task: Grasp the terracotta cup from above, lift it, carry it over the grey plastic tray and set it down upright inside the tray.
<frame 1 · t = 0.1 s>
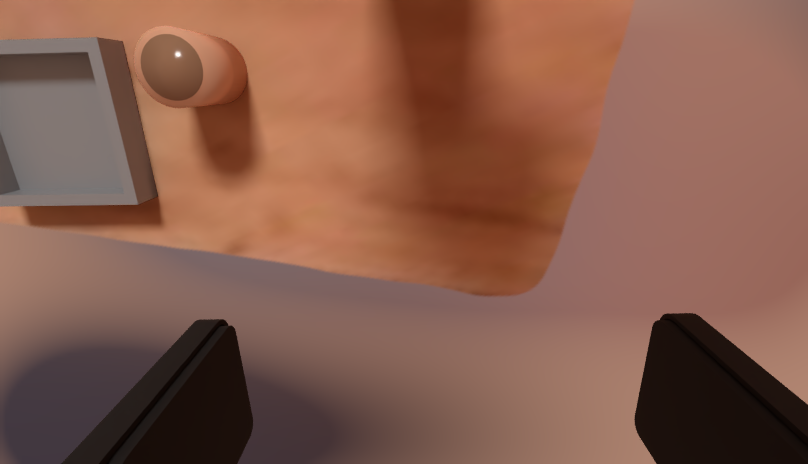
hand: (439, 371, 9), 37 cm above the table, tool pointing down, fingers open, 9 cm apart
grey tray: (68, 124, 44), on the table
terracotta cup: (216, 71, 42), on the table
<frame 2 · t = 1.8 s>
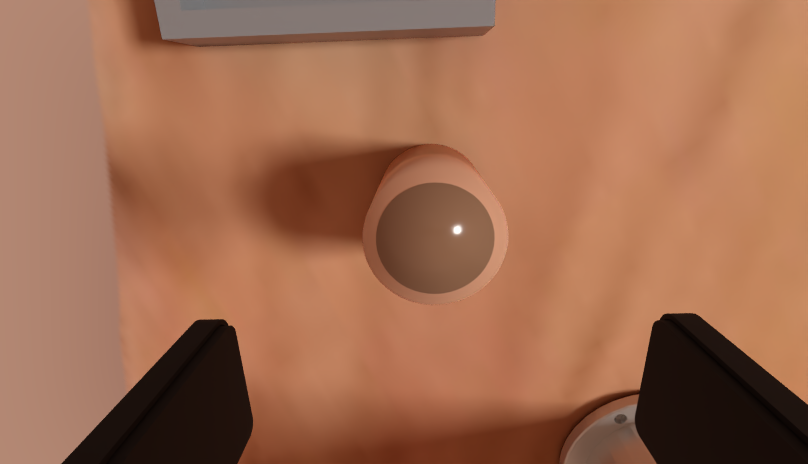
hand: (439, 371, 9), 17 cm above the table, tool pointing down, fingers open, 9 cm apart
terracotta cup: (430, 196, 26), on the table
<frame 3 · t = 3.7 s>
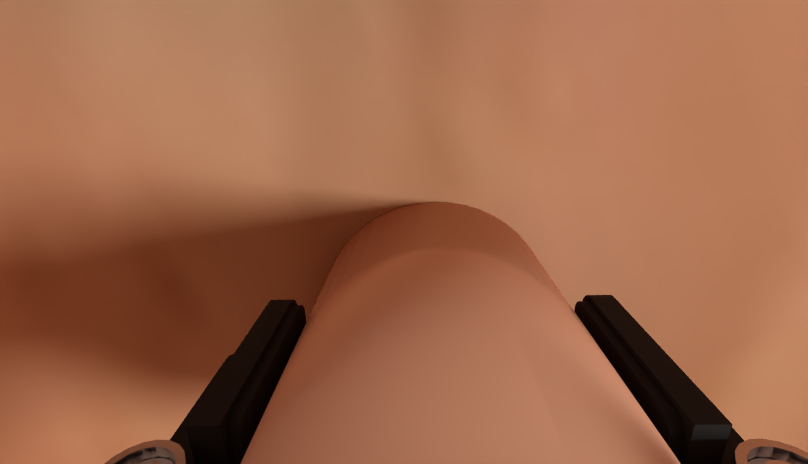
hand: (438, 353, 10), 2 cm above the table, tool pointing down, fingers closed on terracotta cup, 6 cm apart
terracotta cup: (434, 307, 12), on the table, touching gripper
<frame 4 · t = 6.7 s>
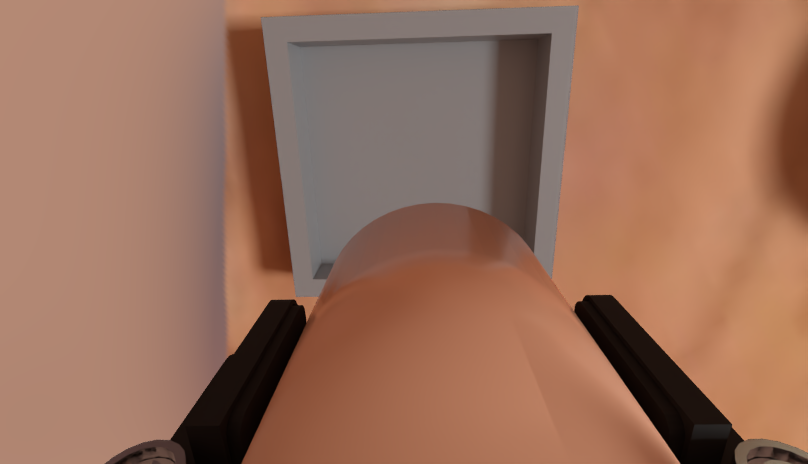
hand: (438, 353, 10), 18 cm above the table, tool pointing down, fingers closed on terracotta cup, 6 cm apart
grey tray: (419, 159, 27), on the table
terracotta cup: (435, 308, 12), point 16 cm above the table, touching gripper
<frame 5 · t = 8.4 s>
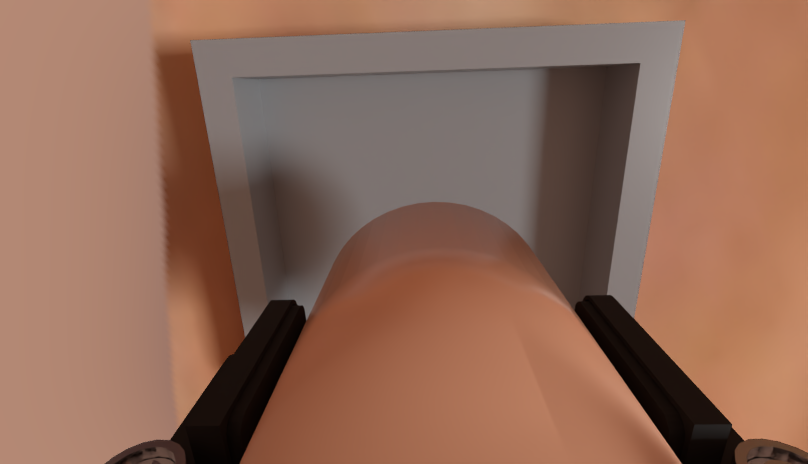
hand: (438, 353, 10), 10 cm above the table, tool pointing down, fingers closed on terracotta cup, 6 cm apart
grey tray: (431, 229, 19), on the table
terracotta cup: (434, 308, 12), point 8 cm above the table, touching gripper
when the fingers open (6 cm above the table, at t = 9.7 s): terracotta cup drops 2 cm, resting on grey tray.
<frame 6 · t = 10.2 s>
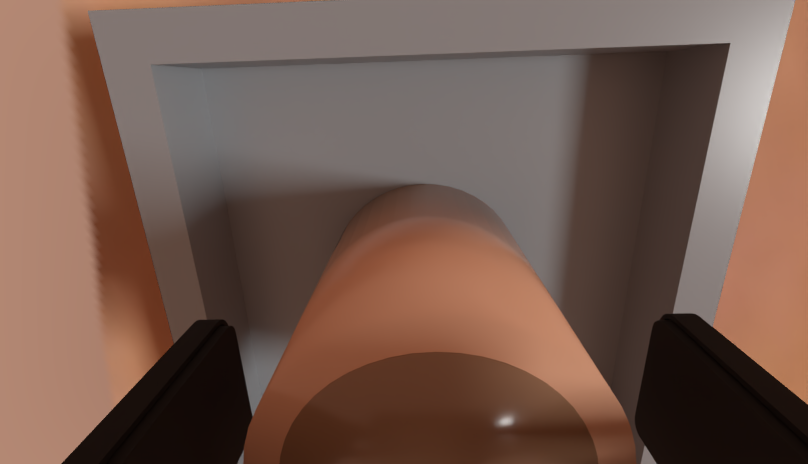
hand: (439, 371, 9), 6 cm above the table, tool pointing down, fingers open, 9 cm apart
grey tray: (430, 260, 15), on the table
terracotta cup: (425, 274, 14), point 1 cm above the table, touching grey tray
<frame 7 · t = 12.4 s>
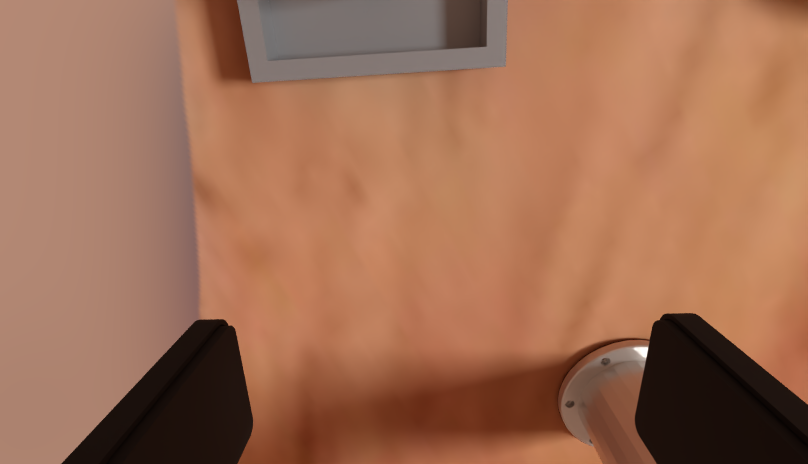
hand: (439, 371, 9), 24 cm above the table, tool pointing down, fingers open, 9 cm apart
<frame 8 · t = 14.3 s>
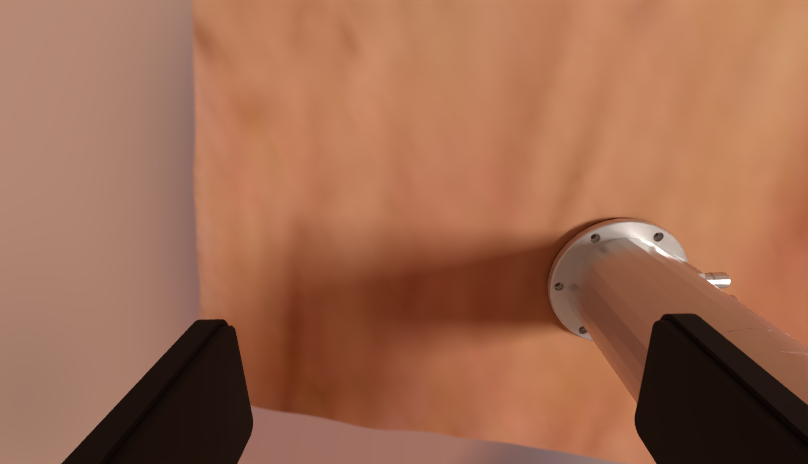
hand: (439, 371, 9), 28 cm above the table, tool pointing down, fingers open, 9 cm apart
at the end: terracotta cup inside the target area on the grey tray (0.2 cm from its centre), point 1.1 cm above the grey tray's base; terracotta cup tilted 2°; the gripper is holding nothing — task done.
